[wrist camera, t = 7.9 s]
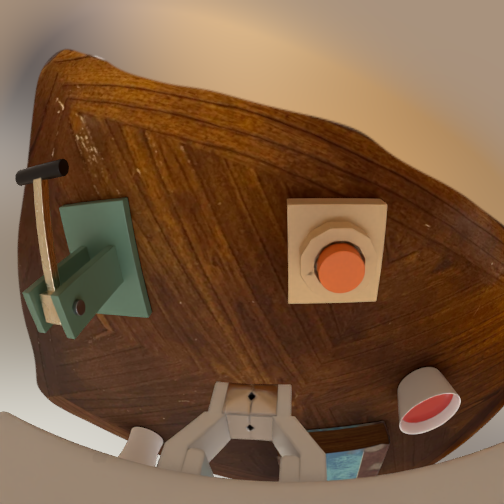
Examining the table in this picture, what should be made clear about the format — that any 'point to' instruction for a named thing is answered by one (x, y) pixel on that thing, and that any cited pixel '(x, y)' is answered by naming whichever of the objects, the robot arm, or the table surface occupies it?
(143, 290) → the green lever stand
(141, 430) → the cup
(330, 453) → the book
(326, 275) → the button
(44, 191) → the lever handle
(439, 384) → the white round tub
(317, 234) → the call button
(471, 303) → the table surface
